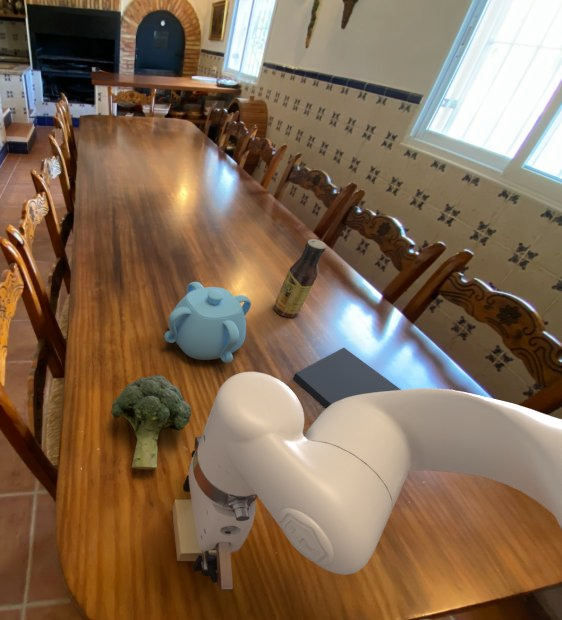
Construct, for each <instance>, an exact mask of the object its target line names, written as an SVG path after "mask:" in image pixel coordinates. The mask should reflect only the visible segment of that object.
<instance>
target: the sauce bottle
mask: <svg viewBox="0 0 562 620" xmlns="http://www.w3.org/2000/svg"><path fill="white" fill-rule="evenodd" d="M326 250H327V244H326V243H325V242H323V241H321V240H320V239H315V238H312V239H311V238H310V239H309V240H307V241H306V244H305V245H304V249H303V252H302V254H301V255H300V257H299V258H298V259H297V260H296V261H295V262H294V263H293V264H292V265H291V266H290V267H289V269H288V271H287V273H286V276H285V277H284V278H285V279H284V280H283V283H282V285H281V287H280V290H279V292H278V294H277V297H276V299H275V301H274V307H273V308H274V310H275V311H276V313H277V314H278V315H280V316H282V317H285V318H294V317H297V316H298V314H299V313H300V312H301V310H302V308H303V306H304V304H305V302H306V301H307V298H308V296H309V295H310V292H311V290H312V288H313V286H314V285H315V281H316V280H317V278H318V276H319V265H318V264H319V262H320V259H321V258H322V255H323V253H325V251H326Z"/></svg>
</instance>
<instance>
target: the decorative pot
mask: <svg viewBox="0 0 562 620" xmlns="http://www.w3.org/2000/svg"><path fill="white" fill-rule="evenodd" d="M241 303H243V304H241ZM251 307H252V302H251V300H250V298H249V297H248V296H246V295H243V294H239V295H235V296H234V295H233V294H232V292H230V291H228V290H227V289H226V288H223V287H220V286H207V287H206V286H205V287H204V286H203V285H202V284H201V282H199V281H192V282H189V283H188V284H187V287H186V295H184V296H183V297H182V299H181V300H179V302H178V303H177V304H176V306H175V307H174V309H173V310H172V311H171V312H170V314H169V316H168V327H169V330H168V331H166V332H165V333H164V336H163V337H164V340H165V342H166V343H169V344H173V343H176V345H177V346H178V347H179V349H181V351H182V352H183V353H184V354H185V355H186V356H187V357H189V358H191V359H194V360H198V361H200V360H201V361H210V360H212V361H213V360H219V359H220V360H221V361H222V362H223V363H225V364H230V363H232V361H233V360H234V356H233V353H235V352H236V351H238V350H239V349H240V348H241V347H242V346H243V345H244V343H245V340H246V335H247V334H246V333H247V318H246V315H247V314H248V313H249V311H250V309H251Z"/></svg>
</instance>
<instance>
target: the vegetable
mask: <svg viewBox="0 0 562 620" xmlns="http://www.w3.org/2000/svg"><path fill="white" fill-rule="evenodd" d="M110 413H111V415H112V417H113V418H114V419H118V418H120V417H123V418H124V419H125V420H127V421H128V422H129V424H130V425H131V427H132V428H133V429H134V435H135V437H136V439H137V440H136V445H135V449H134V454H133V458H132V464H131V468H132V469H139V470H149V471H150V470H156V469H158V450H159V449H158V439H159V434H160V431H161V430H162V429H164V428H166V427H167V428H168V429H170V430H174V431H177V432H179V431H182V430H184V427H186V426H187V425H188V423H190V420H191V416H192V407H191V405H190V404H188V402H187V401H185V400H184V397H183V396H182V393H181V390H180V388H179V387H178V386H176V385H173V384H172V383H171V381H169V380H168V379H167V378H166V377H165V376H163V375H161V374H158V375H157V374H155V375H151V376H149V375H147V376H146V377H139V378H136V379H135V381H133V382H130V383H128V384H127V385H126V386H125V388H124V389H123V390H121V393H120V395H118V396H117V397H116V398H115V400H114V401H113V402H112V405H111V411H110Z"/></svg>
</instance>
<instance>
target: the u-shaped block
mask: <svg viewBox="0 0 562 620" xmlns="http://www.w3.org/2000/svg"><path fill="white" fill-rule="evenodd" d="M292 379H293V380H294V381H295V382H296V383H297V384H298V385H299V386H300V387H301V388H302V389H303V390H305V391H306V392H307V393H308V394H309V395H310V396H311V397H313V398H314V400H316V401H317V402H318V403H319V404H320V405H321V406H322V407H324V409H326V408H327V407H329V406H330V405H331V404H333V403H335V402H337V401H339V400H342V399H344V398H347V397H351V396H356V395H361V394H367V393H375V392H385V391H395V390H402V389H401V388H399V387H398V386H397V385H396V384H394V383H393V382H392V381H390V380H389V379H387V378H386V377H385V376H384V375H382V374H381V373H380V372H379V371H377V370H375V369H374V368H372V367H371V366H370V365H369V364H367V363H365V362H364V361H363V360H362V359H360V358H359V357H358V356H357V355H355V354H353V352H351V351H350V350H348V349H347V348H346V347H342V348H340V349H338V350H336V351H335V352H334V351H333V352H332V353H331V354H329V355H327V356H325V357H323V358H320V360H317V361H315V362H314V363H312V364H310V365H308V366H306V367H304V368H302V369H300V370H299V371H296V372H295V373H294V375H293V376H292Z"/></svg>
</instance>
